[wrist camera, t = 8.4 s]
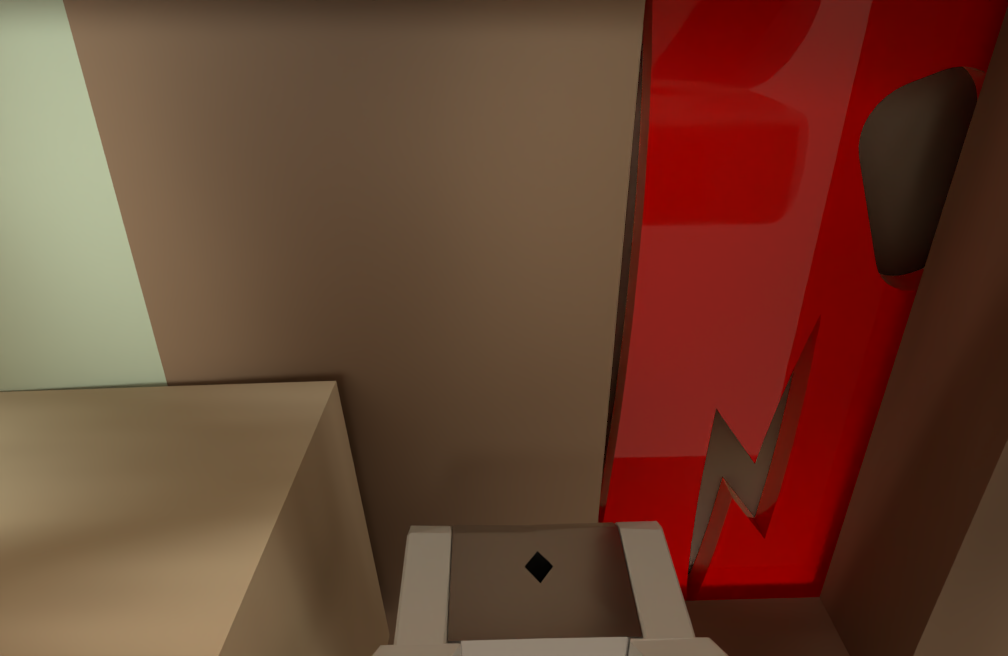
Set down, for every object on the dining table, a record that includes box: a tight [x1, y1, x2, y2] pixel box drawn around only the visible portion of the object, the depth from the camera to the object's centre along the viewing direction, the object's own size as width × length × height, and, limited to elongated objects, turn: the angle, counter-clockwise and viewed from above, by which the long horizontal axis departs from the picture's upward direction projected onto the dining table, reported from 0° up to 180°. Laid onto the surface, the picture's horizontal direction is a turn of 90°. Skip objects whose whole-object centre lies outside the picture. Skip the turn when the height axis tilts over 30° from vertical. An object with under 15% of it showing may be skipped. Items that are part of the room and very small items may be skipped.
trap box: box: [0, 0, 1008, 656], centre depth 11 cm, size 29×16×4 cm, turn 90°
